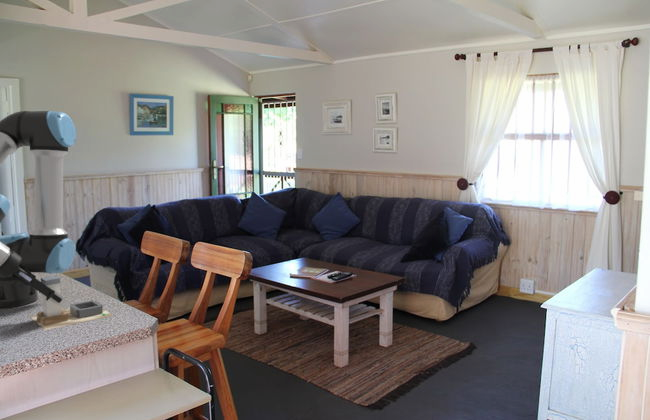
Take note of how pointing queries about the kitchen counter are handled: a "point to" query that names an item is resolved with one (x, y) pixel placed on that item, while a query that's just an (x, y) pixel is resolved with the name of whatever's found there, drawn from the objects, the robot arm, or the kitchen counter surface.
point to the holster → (52, 318)
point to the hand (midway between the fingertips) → (65, 304)
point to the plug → (50, 306)
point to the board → (71, 320)
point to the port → (86, 309)
